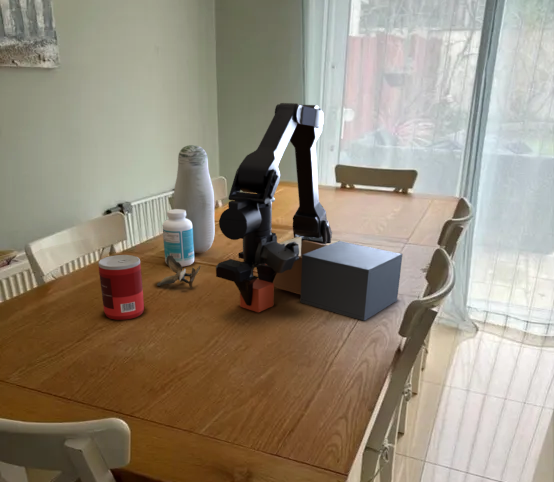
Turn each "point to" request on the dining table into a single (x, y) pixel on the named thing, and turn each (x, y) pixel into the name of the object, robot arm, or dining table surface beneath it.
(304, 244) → the drawer
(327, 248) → the dark grey rectangular block
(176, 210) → the pill bottle
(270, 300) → the block
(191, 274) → the eagle figurine
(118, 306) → the canned food
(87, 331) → the dining table surface
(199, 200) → the white tall rounded cylinder
